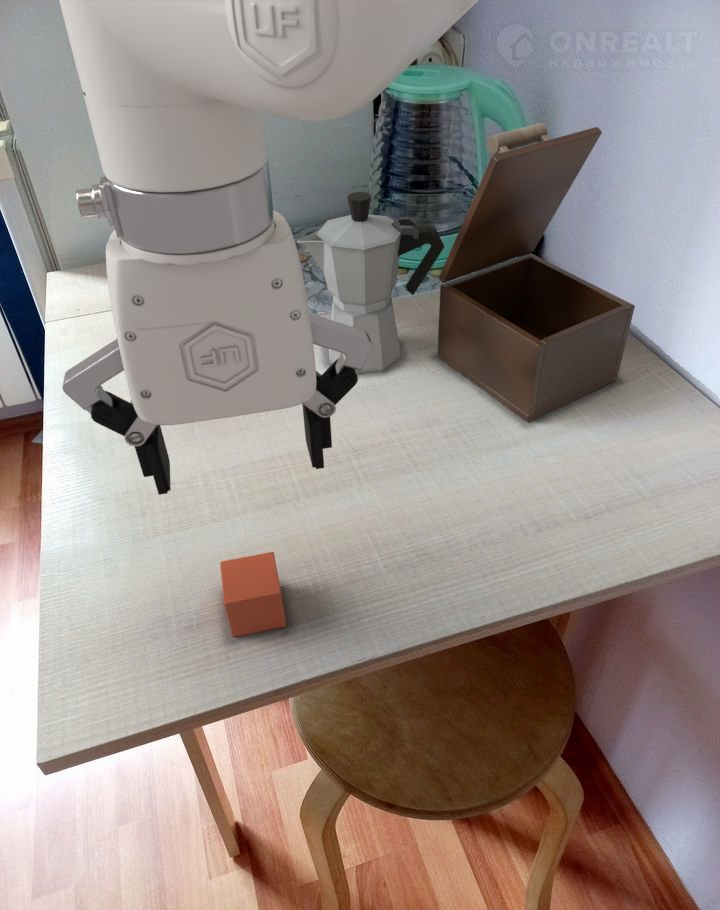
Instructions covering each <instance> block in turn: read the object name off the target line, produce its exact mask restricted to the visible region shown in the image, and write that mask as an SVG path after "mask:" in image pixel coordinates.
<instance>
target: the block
mask: <svg viewBox="0 0 720 910" xmlns="http://www.w3.org/2000/svg"><path fill="white" fill-rule="evenodd" d="M275 557H276V556H275V552H274V551H270V552H264V553H263V552H262V553H259V554H254V555H253V554H252V555H248V556H242V557H238V558H232V559H226V560H222V561H219V564H220V577H221V585H222V596H223V604H224V605H223V606H224V609H225V613H226V616H227V621H228V624H229V628H230V632H231V636H232V637H233V638H235V637H241V636H245V635H251V634H255V633H261V632H265V631H270V630H274V629H279V628H284V627H286V626H287V620H286V614H285V607H284V602H283V596H282V590H281V584H280V580H279V579H280V578H279V573H278V567H277V562H276V558H275Z"/></svg>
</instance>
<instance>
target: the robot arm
mask: <svg viewBox="0 0 720 910" xmlns="http://www.w3.org/2000/svg"><path fill="white" fill-rule="evenodd" d="M58 1H59V5H60V9H61V13H62V16H63V21H64V24H65V29H66V32H67V36H68V40H69V45H70V48H71V52H72V56H73V61H74V64H75V69H76V72H77V75H78V80H79V84H80V86H81V91H82V95H83V99H84V103H85V106H86V107H85V108H86V111H87V114H88V118H89V123H90V127H91V130H92V133H93V138H94V140H95V145H96V148H97V149H96V150H97V153H98V157H99V161H100V164H101V169H102V172H103V175H104V176H100V178H99V179H100V180H99V183H98V184H97V183H96V184H92V185H91V187H90V188H79V189H76V190H75V196H76V202H77V207H78V210H79V213H80V216H81V218H82V219H83V220H90V219H99V221H107V223H108V225H109V227H114V230H113V231H112V232H111V233H110V235H109V238H108V240H107V243H106V246H105V265H106V266H105V267H106V268H105V269H106V278H107V279H106V280H107V289H108V296H109V303H110V308H111V314H112V320H113V324H114V329H115V334H116V339H114V340H112V341H111V342H110V343H108V344H106V345H105V346H104V347H102V348H100V349H99V350H97V351H95V352H94V353H93V354H90V355H89V356H88V357H86V358H85V359H83V360H81V361H79V362H78V363H77V364H76V365H74V366H72V367H71V368H69V369H67V370H66V371H65V373H64V377H63V383H62V387H61V388H62V391H63V392H64V393H65V395H66V396H67V397H69V398H70V399H71V400H72V401H73V402H75V404H76V405H78V406H79V407H80V408H81V409H82V410H83V411H86V412H88V413H89V415H90V417H91V419H92V420H93V422H95V423H96V424H98V425H100V426H102V427H104V428H106V429H108V430H110V431H113V432H115V434H116V433H117V434H118V435H121V436H123V437H124V441H125V443H127V445H129V446H132V447H134V449H135V453H136V456H137V459H138V463H139V466H140V470H141V473H142V476H143V477H144V478H147V477H153V480H154V483H155V487H156V491H157V494H158V495H160V496H161V495H166V494H168V493H169V492H170V491H172V490H171V461H170V458H169V457H170V456H169V453H168V449H167V446H166V442H165V439H164V434H163V431H162V426H177V425H184V424H192V423H200V422H205V421H206V422H207V421H214V420H221V419H227V418H234V417H240V416H241V417H242V416H248V415H254V414H260V413H266V412H273V411H280V410H284V409H289V408H294V407H297V406H300V405H301V406H302V415H303V426H304V436H305V437H304V438H305V443H306V447H307V451H308V456H309V460H310V463H311V468H315V470H320V469H324V468H325V460H324V449H326V450H327V449H331V448H333V439H332V425H331V424H332V423H331V417H332V416H333V415H334V414H335V413H336V410H337V407H336V405H338V403H339V402H340V401H341V400H342V399H343V398H344V397H345V396H346V395H348V393H349V392H350V391H351V390H352V389H353V388H354V387H355V386H356V385H357V384H358V381H359V375H360V374H359V372H360V371H362V369H363V367H364V365H365V363H366V362H367V360H368V358H369V356H370V354H371V352H372V350H373V344H372V342H371V340H370V337H369V335H368V333H367V332H365V331H363V330H360V329H357V328H354V327H351V326H348V325H345V324H342V323H339V322H336V321H333V320H331V319H330V318H326V317H324V316H320V315H317V314H313V313H311V312H310V309H309V302H308V296H307V290H306V285H305V279H304V273H303V268H302V264H301V260H300V256H299V251H298V248H297V244H296V240H295V238H294V235H293V232H292V229H291V226H290V224H289V223H288V222H287V220H286V218H285V217H284V216H283V214H281V213H280V212H278V211H276V210H274V203H273V194H272V193H273V192H272V185H271V175H270V165H269V159H268V148H267V138H266V129H265V120H264V119H265V117H264V114H266V115H270V116H274V117H278V118H283V119H287V120H293V121H301V122H324V121H331V120H337V119H340V118H343V117H346V116H348V115H351V114H352V113H355V112H357V111H359V110H361V109H362V108H364V107H365V106H367V105H368V104H370V103H371V102H372V101H374V100H375V99H376V98H377V97H378V96H379V95H380V94H381V93H383V92H384V91H385V90H386V89H387V88H388V87H389V86H390V85H391V84H392V83H393V82H395V80H397V79H398V78H399V76H401V75H402V74H403V72H405V70H407V68H408V67H409V66H410V65H411V64H412V63H413V62H415V61H416V60H417V59H418V58H419V57H420V56H422V54H424V53H425V52H426V51H427V50H428V49H429V48H431V47H432V46H433V45H434V44H435V43H436V42H437V41H439V39H440V38H441V37H442V36H443V35H444V34H445V33H446V32H447V31H448V30H450V29H451V28H452V27H453V26H454V25H455V24H456V23H457V22H458V21H459V20H460V19H461V18H462V17H463V16H464V15H465V14H466V13H467V12H468V11H469V10H471V8H472V7H474V6H475V5H476V4H477V3H478V2H479V1H480V0H58ZM314 345H315V346H318V347H322V348H325V349H327V350H328V349H331V350H335V351H338V352H341V353H340V357H339V358H338V359H337V360H336V361H335V362H334V363H333V364H332V365H331V364H330V366H329V367H328V368H327V369H326V370H324V372H323V373H322V374H321V373H320V372H318V370H317V368H316V367H317V366H316V357H315V355H316V354H315V347H314ZM122 372H124V375H125V380H126V382H127V383H126V384H127V387H128V392H129V396H130V402H129V401H127V400H125V399H123V398H121V397H120V396H118V395H116V394H114V393H112V392H110V391H108V390H104V388H103V386H102V385H104V384H105V383H106V382H108V381H109V380H111V379H112V378H114V377H116V376H117V375H118V374H120V373H122Z"/></svg>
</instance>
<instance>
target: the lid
mask: <svg viewBox="0 0 720 910" xmlns="http://www.w3.org/2000/svg"><path fill="white" fill-rule="evenodd" d="M602 133H603V131H602V130H601V129H600V128H599V127H598V126H595V127H591V128H587V129H583V130H580V131H577V132H573V133H569V134H565V135H562V136H558V137H554V138H550V137H549V136H548V128H547V126H546V124H545V123H543V122H538V123H535V124H531V125H527V126H523V127H519V128H515V129H512V130H508V131H504V132H500V133H496V134H492V135H490V136H488V138H487V141H486V147H487V151H488V152H489V153H490V154H491V156H490V159H489V162H488V163H487V166H486V169H485V171H484V173H483V175H482V177H481V180H480V182H479V185H478V187H477V189H476V192H475V193H474V196H473V198H472V200H471V203H470V205H469V207H468V209H467V212H466V214H465V217H464V220H463V221H462V222H461V226H460V228H459V229H458V230H459V231H458V233H457V235H456V237H455V239H454V242H453V245H452V247H451V249H450V250H449V253H448V256H447V258H446V260H445V263H444V265H443V267H442V270H441V272H440V274H439V276H438V279H439V281H440V282H441V284H445V283H448V282H451V281H454V280H456V279H459V278H462V277H465V276H468V275H471V274H473V273H476V272H479V271H482V270H485V269H488V268H490V267H493V266H496V265H499V264H502V263H505V262H507V261H510V260H513V259H516V258H519V257H522V256H524V255H527V254H530V253H533V252H534V251H535V249H536V247H537V246H538V244H539V242H540V241H541V239H542V237H543V235H544V234H545V232H546V230H547V228H548V227H549V225H550V223H551V221H552V220H553V219H554V217H555V215H556V213H557V211H558V210H559V208H560V206H561V204H562V203H563V201H564V199H565V197H566V196H567V194H568V192H569V190H570V189H571V188H572V185H573V184H574V182H575V180H576V179H577V176H578V175H579V173H580V172H581V170H582V168H583V166H584V164H585V163H586V162H587V160H588V158H589V156H590V154H591V152H592V151H593V150H594V147H595V145H596V144H597V142H598V141H599V139H600V137H601V135H602Z"/></svg>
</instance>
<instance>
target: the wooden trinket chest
mask: <svg viewBox="0 0 720 910" xmlns="http://www.w3.org/2000/svg"><path fill="white" fill-rule="evenodd" d="M635 307H636V306H635V304H632V303H631V302H629V301H627V300H626V299H625V300H624V299H623V298H621V297H619V296H617V295H615V294H613V293H610V292H608V291H607V290H605V289H603V288H601V287H599V286H597V285H595V284H593V283H592V282H589V281H587V280H585V279H584V278H581V277H579V276H577V275H575V274H573V273H571V272H570V271H567V270H565V269H563V268H561V267H559V266H557V265H555V264H554V263H551V262H549V261H548V260H545V259H543V258H541V257H539V256H537V255H536V254H533V253H532V252H530V253H527V254H524V255H521V256H519V257H516V258H513V259H510V260H507V261H504V262H502V263H499V264H496V265H493V266H490V267H487V268H485V269H482V270H479V271H476V272H473V273H470V274H468V275H465V276H462V277H459V278H456V279H453V280H451V281H448V282H445V283H441V284H440V288H439V309H438V328H437V329H438V331H437V355H436V356H437V358H439V359H440V360H441V361H443V362H444V363H446V364H447V365H448V366H450V367H451V368H452V369H454V370H455V371H457V372H458V373H459V374H461V375H462V376H463V377H465V378H466V379H467V380H468V381H470V382H472V384H474V385H476V386H477V387H479V388H480V389H481V390H483V391H484V392H485V393H487V394H488V395H489V396H491V397H492V398H493V399H494V400H496V401H497V402H499V403H500V404H502V405H503V406H504V407H506V408H508V410H510V411H511V412H513V413H514V414H516V415H517V416H518V417H519V418H521V419H522V420H524V421H525V422H526V423H530V422H532V421H534V420H535V419H538V418H540V417H543V416H545V415H546V414H549V413H550V412H553V411H555V410H557V409H559V408H561V407H563V406H565V405H567V404H569V403H571V402H574V401H576V400H578V399H580V398H582V397H584V396H586V395H588V394H591V393H592V392H595V391H597V390H599V389H602V388H603V387H605V386H607V385H609V384H611V383H613V382H615V381H617V380H618V377H619V372H620V368H621V364H622V360H623V356H624V352H625V348H626V345H627V340H628V336H629V331H630V327H631V324H632V320H633V316H634V312H635Z"/></svg>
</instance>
